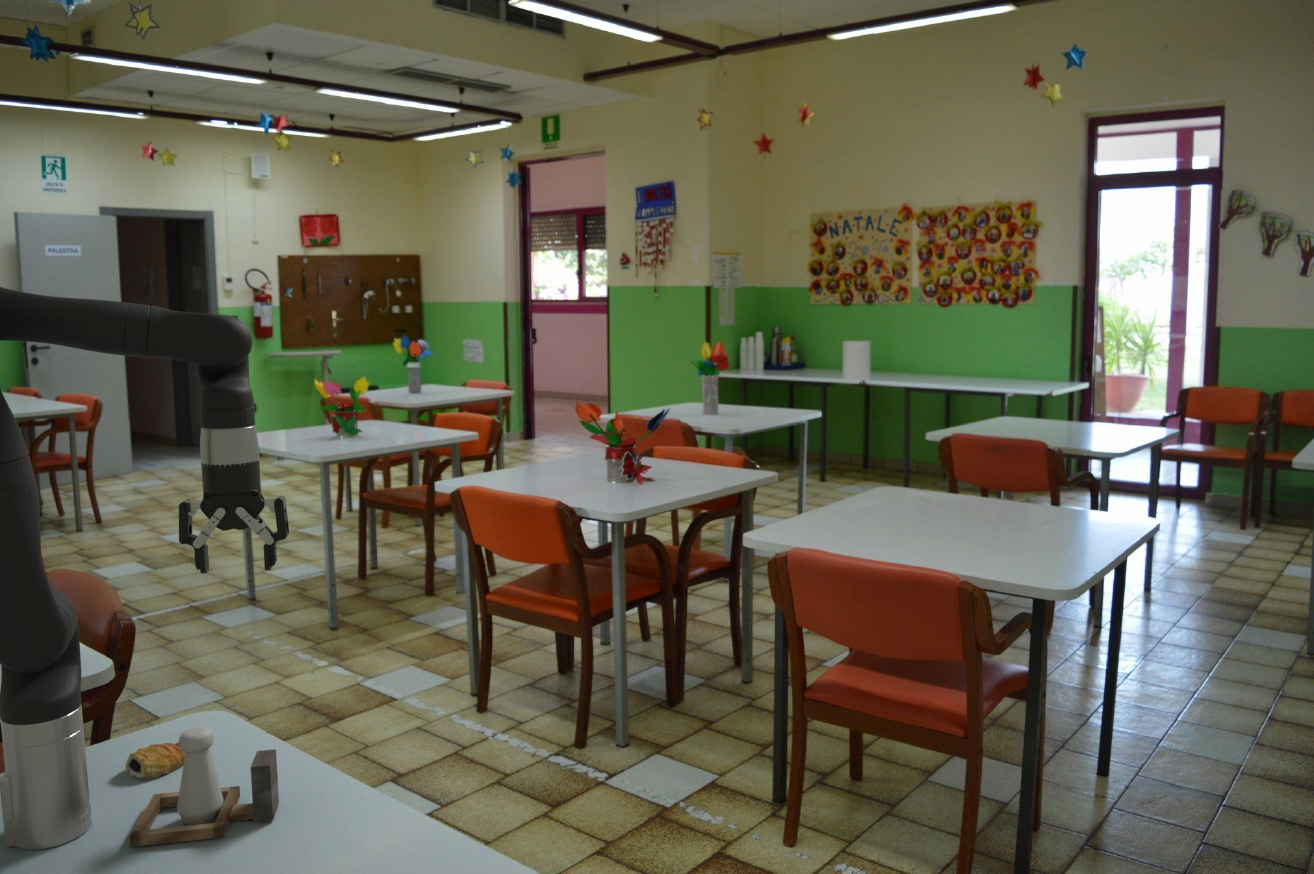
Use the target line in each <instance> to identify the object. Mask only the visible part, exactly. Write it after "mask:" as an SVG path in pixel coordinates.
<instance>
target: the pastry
mask: <svg viewBox="0 0 1314 874" xmlns="http://www.w3.org/2000/svg"><path fill="white" fill-rule="evenodd" d="M184 758H185V752H182V751H181V749H180V747H179V741H178V742H177V743H172V742H165V743H161V744H157V743H155V744H154V743H153V744H150V745H148V746H147V747H141V748H138V749H137V750H136V752H135V751H134V752H131V753H130V754H129V756H128V757H127V759H126V763H125V769H126V770H127V771H128V774H129V775H130V776H133V777H137V778H138V779H142V780H153V779H156V778H160V776H162V775H164V774H166V775H168V774H171V773H173V772H174V771H176V770H178V769H180V768H183V764H184Z"/></svg>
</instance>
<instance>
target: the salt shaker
mask: <svg viewBox="0 0 1314 874" xmlns="http://www.w3.org/2000/svg"><path fill="white" fill-rule="evenodd" d="M214 741H215V738H214V733H213V731H212V730H211V729H210V728H208V727H206V726H205V727H204V726H198V727H192V728H189V729H187V730H185V731H183V732H182V733H180V735H179V737H178V742H179V747H180V749H181V751H182V752H185V758H184V764H183V766H182V771H181V772H182V773H181V779H180V785H179V791H178V792H179V798H178V804H177V806H176V811H177V813H178V815H179V817H180V818H181V820H182V821H183V823H184V826H190V825H200V824H210V823H215V822H216V819H217V817H218V815H219V813H220V810H221V808H222V806H223V803H224V801H223V796H222V792H221V788H222V787H221V785H220V782H219V777H218V774H217V770H216V766H215V763H214V759H213V756H212V751H211V747H212V746H213V744H214Z"/></svg>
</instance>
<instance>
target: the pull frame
mask: <svg viewBox="0 0 1314 874" xmlns="http://www.w3.org/2000/svg"><path fill="white" fill-rule="evenodd" d="M277 763H278V762H277V749H275V748H273V749H265V750H257V751H256V753H255V755H254V757H253V760H252V762H251V765H250V779H251V780H250V782H251V796H252V797H251V798H252V799H251V800H252V802H251V803H250V802H249V803H240V804H238V802H239V799H240V797H241V789H240V785H238V786H237V785H236V786H228V787H227V786H226V787H220V788H221V792H222V796H223V805H222V808H221V810H220V813H219V815H218V817H217V819H216V820H215V821H214V822H213V823H210V824H200V825H190V826H186V825H181V826H174V827H173V826H172V827H164V828H163V827H160V828H155V829H153V828H152V825H153V824H154V822H155V820H156V819H157V816H158V815H159V814H160V811H161V810H162V808H170V807H177V804H178V798H179V791H174V792H165V793H164V792H163V793H154V794H153V795H152V797H151V799H150V800H149V802H148V804H147V805H146V807H145V808H144V811H143V813H142V814H141V816H140V817H139V819H138V821H137V823H136V824H135V826H134V828H133V830H132V831H131V833H130V835H129V845H130V847H131V848H132V847H141V846H151V845H161V844H162V845H163V844H169V843H170V844H171V843H179V842H181V843H182V842H189V841H199V840H207V839H216V838H217V839H218V838H224V837H225V834H226V831H227V829H228V826H229V824H230V822H235V821H243V820H253V823H259V822H270V821H274V820H275V815H276V813H277V810H278V806H279V803H280V798H279V797H280V796H279V780H278V779H279V778H278V776H279V775H278V764H277ZM151 828H152V829H151Z"/></svg>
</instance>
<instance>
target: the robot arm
mask: <svg viewBox="0 0 1314 874" xmlns="http://www.w3.org/2000/svg"><path fill="white" fill-rule="evenodd" d="M0 341H2V342H4V341H8V342H9V341H12V342H13V341H14V342H15V341H16V342H31V343H41V344H47V345H48V344H49V345H55V346H62V347H66V348H67V347H68V348H71V349H72V348H73V349H77V350H78V349H79V350H84V351H90V352H94V353H95V352H96V353H101V354H106V355H107V354H108V355H115V356H116V355H117V356H125V357H137V358H146V359H167V360H168V359H170V360H176V361H180V362H188V363H193V364H196V367H197V374H198V375H197V376H198V380H199V389H200V390H199V419H200V421H199V422H200V427H201V428H200V436H199V437H200V438H199V439H200V440H199V447H200V449H199V450H200V452H199V453H200V462H201V463H200V465H201V467H200V468H201V478H202V479H201V480H202V481H201V482H202V499H201V500H200V501H199V500H198V501H197V500H196V501H195V500H191V499H189V498H185V499H184V500H183V501H182V502H180V503H179V505H178V542H179V544H180V545H188V546H191V547H193V550H194V551H193V553H194V565H195V568H196V571H197V570H198V571H200V574H201V575H202V574H208V572H209V570H210V561H209V545H208V544H206V543H207V541H208V540H209V538H210V537H211V536H212V534H213V533H214V532H215V531H216V529H219V530H221V531H222V532H225V531H230V530H238V531H244V530H246V529H248V528H250V529H251V531H253V533H254V534H255V535H257V536H258V537H259V538H260V539H261V540H262V541H263V542H264V544H263V559H264V561H263V562H264V563H263V564H264V571H271V570H272V569H273V567H275V565H276V563H277V560H278V558H277V542H280V541H283V540H286V539H287V537H288V535H289V534H290V526H289V517H288V509H287V502H286V501H287V500H286V497H285V496H284V495H278V496H277V497H271V498H270V497H269V498H265V497H264V495H263V494H262V484H261V483H262V482H261V469H260V468H261V466H260V465H261V464H260V456H261V455H260V454H261V453H260V452H261V451H260V448H259V447H260V446H259V438H258V434H257V429H256V426H257V425H256V415H255V414H256V413H255V411H256V410H255V399H254V393H253V390H252V387H251V384H250V363H249V362H250V360H249V359H250V357H249V355H250V353H251V351H252V348H253V337H252V332H251V331H250V329H249V327H248V326H247V325H246V324H245V322H243V321H242V320H241V319H239V318H237V317H234V316H232V315H229V314H214V313H204V312H193V311H192V312H191V311H178V310H172V309H170V308H166V307H161V306H156V305H150V304H149V305H147V304H142V303H141V304H140V303H133V302H124V301H115V300H105V299H95V298H93V299H91V298H77V297H76V298H75V297H61V296H52V295H51V296H50V295H43V294H36V293H29V292H24V291H20V290H15V289H10V288H6V287H2V286H0ZM29 454H30V453H29V451H28V447H27V444H26V441H25V439H24V435H23V434H22V431H21V429H20V427H19V425H18V422H17V419H16V418H15V416H14V413H13V412H12V408H10V406H9V404H8V401H7V400H6V398H5V396H4V393H3V392H2V389H1V388H0V666H1V668H0V669H1V678H0V679H1V680H0V681H1V682H0V728H1V738H2V739H1V740H2V747H3V748H2V749H3V761H4V773H3V774H2V775H1V777H0V800H1V801H0V802H1V811H2V822H3V830H4V831H3V833H4V842H5V848H8V847H16V848H19V849H22V850H43V849H49V848H53V847H57V846H61V845H63V844H66V843H68V842H71V841H73V840H75V839H77V838H78V837H80V836H82V835H83V834H85V833H86V832H87V831H88V830H89V829H90V827H91V825H92V814H91V812H92V807H91V801H90V789H89V776H88V765H87V753H86V741H85V730H84V729H85V728H84V720H83V708H82V695H81V694H82V693H81V691H82V690H81V689H82V688H81V686H82V660H81V643H80V642H81V641H80V629H79V628H80V626H79V620H78V615H77V611H76V608H75V605H74V604H73V603H72V601H71V600H70V599H69V598H68V596H66V595H65V594H64V593H62V592H60V591H59V590H56V589H53V588H52V587H51V584H50V581H49V579H48V575H47V573H46V569H45V565H44V561H43V554H42V543H41V542H42V541H41V539H42V537H41V511H40V510H41V509H40V498H39V491H38V486H37V480H36V476H35V473H34V469H33V465H32V461H31V460H32V459H31V457H30V455H29ZM266 507H267V508H268V510H269V512H270V513H272V514H274V515H275V525H276V531H273V529H272V528H270V527H269V526H270V525H268V523H267V522H266V520H264V518H263V517H262V516H261V515H260V514H261V513H262V511H263V510H264V509H265V508H266ZM198 510H201V512H202V513H203V514H204V516H205V517H206V518H207V519H208V521H207V523H206V524H205V526H203V528H202V529H201V531H200V532H199V534H198V535H196V534H193V517H194V516H195V515H197V513H198Z"/></svg>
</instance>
